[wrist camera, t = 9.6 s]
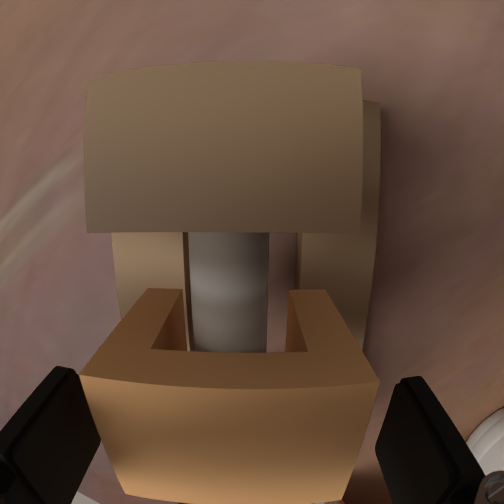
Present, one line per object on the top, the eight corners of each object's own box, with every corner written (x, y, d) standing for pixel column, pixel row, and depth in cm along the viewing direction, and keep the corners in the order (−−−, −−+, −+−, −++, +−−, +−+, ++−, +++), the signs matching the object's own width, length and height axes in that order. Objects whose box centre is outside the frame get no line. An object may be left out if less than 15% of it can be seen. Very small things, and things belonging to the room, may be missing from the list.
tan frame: (123, 109, 17) (-36, 52, 4) (367, 109, 16) (518, 39, 4) (153, 421, 22) (106, 555, 10) (336, 425, 22) (372, 564, 10)
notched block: (147, 288, 12) (78, 374, 6) (325, 289, 12) (379, 381, 6) (161, 390, 13) (125, 493, 8) (313, 393, 13) (341, 499, 8)
